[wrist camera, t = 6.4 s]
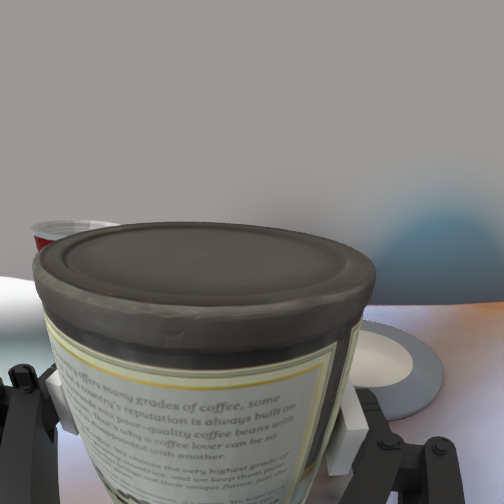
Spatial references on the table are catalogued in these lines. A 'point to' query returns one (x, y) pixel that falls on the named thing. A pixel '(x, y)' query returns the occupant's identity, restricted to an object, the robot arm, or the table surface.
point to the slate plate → (395, 369)
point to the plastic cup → (63, 229)
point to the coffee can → (203, 355)
